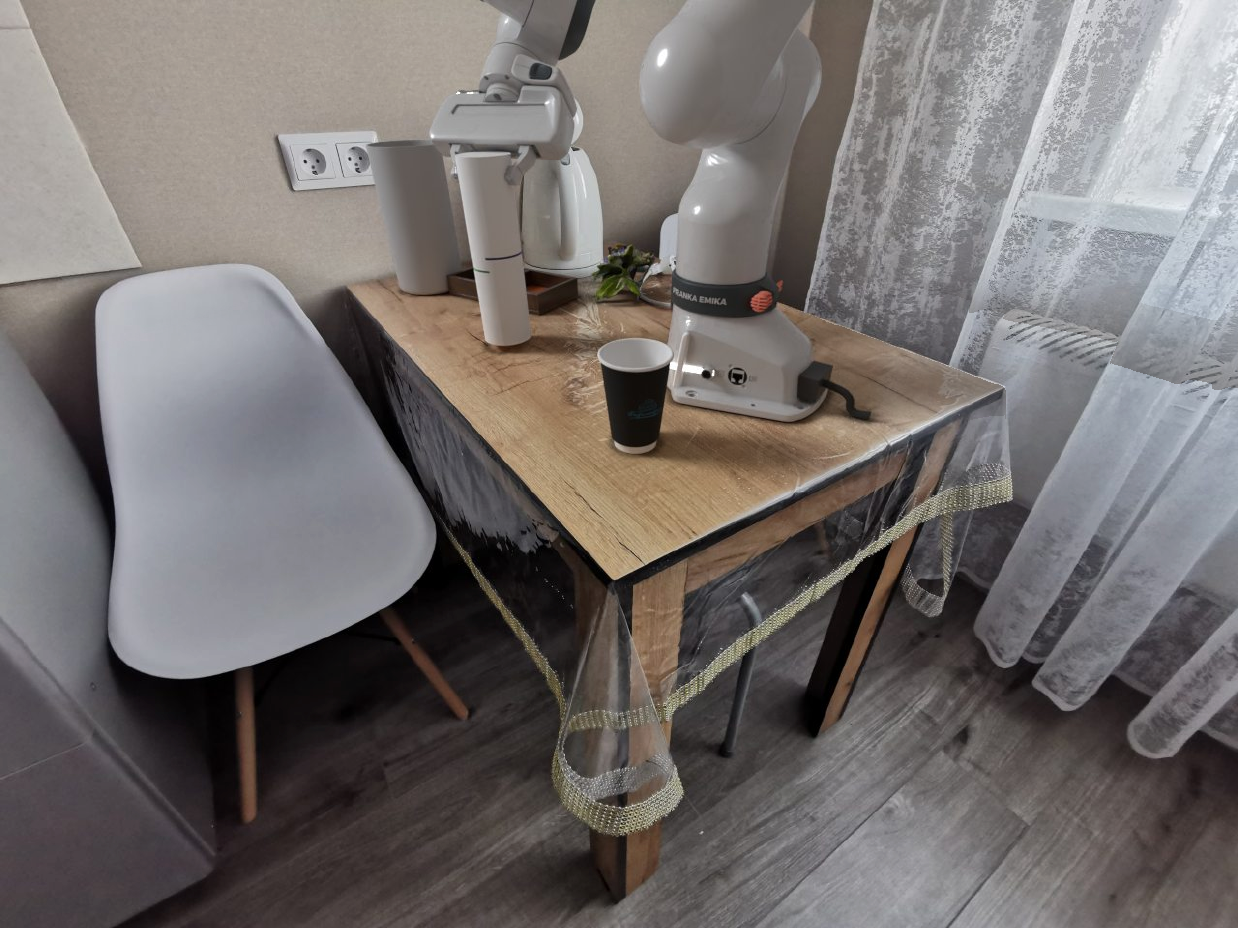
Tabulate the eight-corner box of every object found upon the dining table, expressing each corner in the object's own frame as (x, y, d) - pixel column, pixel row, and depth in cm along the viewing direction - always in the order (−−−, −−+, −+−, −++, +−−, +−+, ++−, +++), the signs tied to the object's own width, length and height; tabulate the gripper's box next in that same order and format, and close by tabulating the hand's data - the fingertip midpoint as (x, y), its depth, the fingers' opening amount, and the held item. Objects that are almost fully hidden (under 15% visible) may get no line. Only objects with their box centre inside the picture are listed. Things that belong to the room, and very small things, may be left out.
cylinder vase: (390, 285, 113) (355, 143, 99) (447, 273, 119) (422, 138, 105) (415, 300, 105) (381, 149, 91) (475, 286, 111) (452, 143, 97)
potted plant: (618, 318, 111) (640, 260, 110) (652, 324, 103) (676, 261, 102) (573, 294, 104) (596, 232, 103) (606, 298, 96) (631, 231, 95)
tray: (578, 296, 106) (577, 277, 104) (539, 315, 98) (537, 295, 96) (491, 278, 116) (489, 261, 114) (449, 294, 108) (446, 275, 106)
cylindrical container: (527, 345, 84) (504, 157, 70) (480, 346, 84) (448, 158, 70) (534, 328, 90) (514, 150, 75) (490, 328, 90) (462, 151, 76)
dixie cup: (646, 470, 59) (648, 376, 53) (586, 448, 63) (581, 357, 57) (682, 436, 65) (688, 347, 58) (625, 418, 68) (624, 332, 62)
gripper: (436, 72, 76) (406, 162, 74) (571, 68, 70) (541, 167, 68) (462, 109, 82) (434, 193, 80) (588, 109, 75) (560, 200, 74)
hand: (484, 181), depth 74 cm, fingers closed on cylindrical container, 7 cm apart
